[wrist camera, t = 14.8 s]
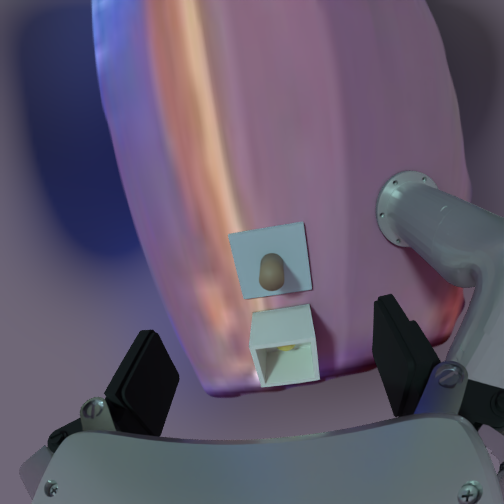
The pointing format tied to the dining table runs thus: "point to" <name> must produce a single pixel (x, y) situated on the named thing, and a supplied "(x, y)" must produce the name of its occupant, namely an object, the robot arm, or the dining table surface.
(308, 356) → the storage box
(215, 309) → the dining table surface
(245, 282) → the lid
